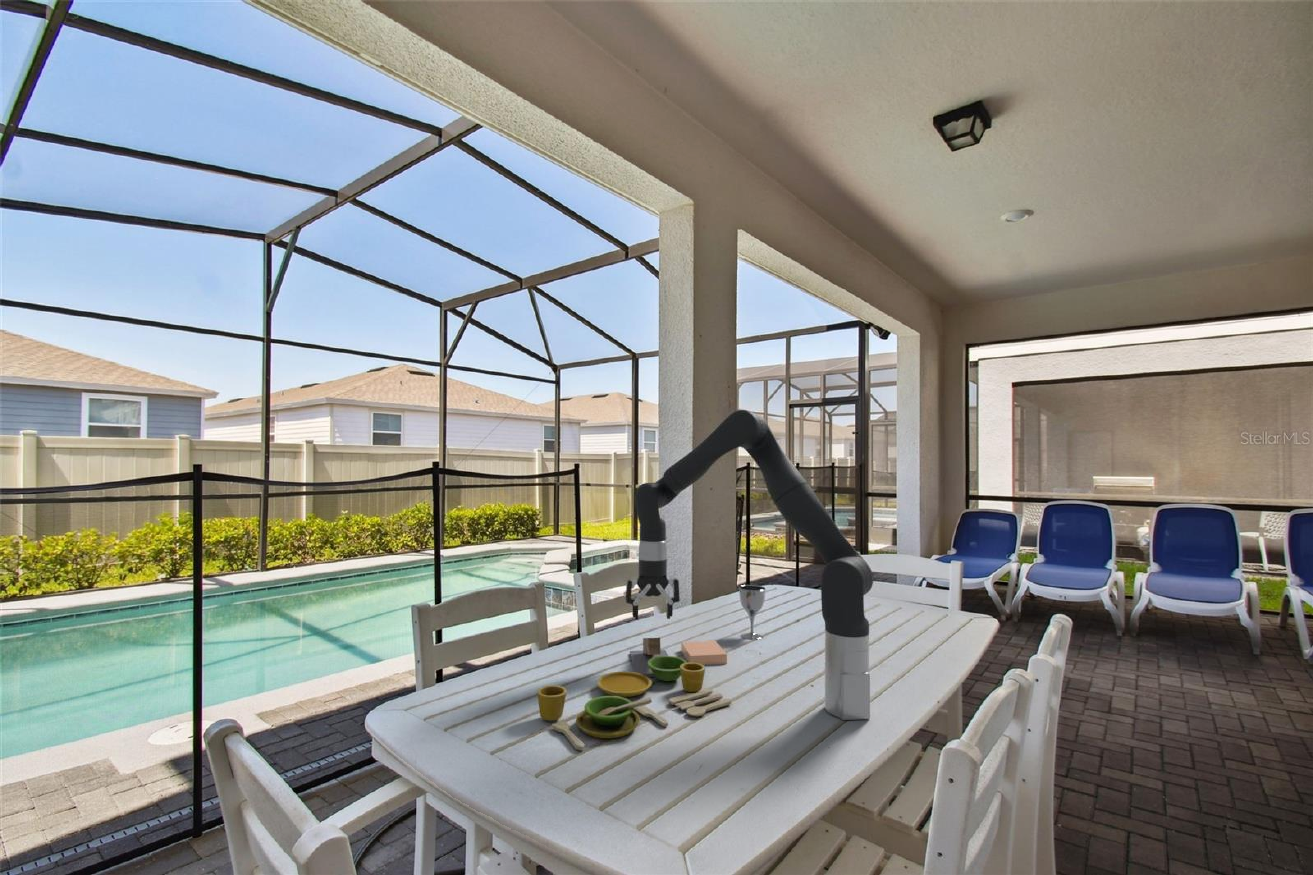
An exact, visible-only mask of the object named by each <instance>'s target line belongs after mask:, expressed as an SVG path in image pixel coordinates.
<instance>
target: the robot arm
mask: <svg viewBox="0 0 1313 875" xmlns="http://www.w3.org/2000/svg"><path fill="white" fill-rule="evenodd" d="M737 448H742V449H744V450H745V452H747V453H748V455H749V456H750V457H751V458H752V460H753V461H754V462H755V464H756V465H757V467H758V468H759V470H760V472H761V474H762V476H763V479H764V482H765V486H766V488H767V492H768V494H769V497H770V498H771V500H772V502H773V504H774V505H775V507H776V509H777V510H778V512H779V513H780V514H781V516H782V518H783V519H784V520H785V521H786V523H787V524H788V525H790V527H791V528H792V529H793V530H794V531H796V532H797V534H799V535H800V536H801V537H802V538H803V539H805V540H806V541H807V542H808V543H809V544H810V545H811V546H812V547H813V548H814V549H815V550H816V551H817V553H818V554H819V555H820V557H821V558H822V560H823V562H824V563H825V567H824V568H823V570H822V573H821V578H820V579H821V580H820V589H821V590H820V595H821V596H820V599H821V614H822V619H823V622H824V710H825V711H826V712H827V713H829V714H830V715H832V716H834V717H837V718H840V719H841V720H842V721H849V720H850V721H852V720H853V721H854V720H870V719H871V675H870V623H869V620H868V619H867V617H866V616H865V602H864V600H865V598H864V596H865V595H867V594H868V593H869V592H870V590H871V589H872V588H873V584H874V576H873V572H872V569H871V567H870V565H869V564H868V562H867V561H866V560H865V559H864V557H863V556H861V554H860V553H859V551H857V550H856V549H855V547H854V546H853V545H852V544H851V543H850V542H849V541H848V539H847V538H846V537H845V536H844V534H843V533H842V532H841V530H840V529H839V528H838V526H837V524H836V523H835V522H834V520H833V518H832V517H831V515H830V514H829V512H828V511H827V509H826V508H825V506H824V505H823V503H822V502H821V500H820V498H818V495H816V493H815V491H814V490H813V488H812V487H811V485H810V484H809V483H808V482H807V480H806V478H805V477H804V476H803V475H802V474H801V472H800V471H799V469H798V468H797V467H796V466H795V464H794V463H793V462H792V460H790V458H789V457H788V456H787V454H786V453H785V452H784V450H783V448H781V446H780V444H779V442H778V441H777V439H776V436H775V435H774V434H773V431H772V430H771V427H770V426H769V424H768V422H767V421H766V420H765V418H764V417H763V416H761V415H760V414H758V413H756V412H753V411H751V410H747V409H737V410H735V411H733V412H732V413H730V415H728V416H727V417H726V418H725V419H723V421H722V422H721V423H720V424H719V425H718V426H717V427H716V428H715V429H714V430H713V432H711V433H710V434H709V435H708V436H707V437H706V438H705V439H704V440H703V441H702V442H700V443H699V444H698V445H697V446H696V447H694V449H692V450H691V451H690V452H688V453H687V454H686V455H685V456H683V457H682V458H681V459H679V460H678V461H675V463H674V464H672V465H671V466H670V467H669V466H668V468H667V469H666V470H664V472H663V476H662V477H661V478H660V479H659V480H657V481H655V482H645V483H642V484H640V485H639V486H638V488H637V489H636V492H635V497H634V504H635V510H636V514H637V519H638V522H639V544H638V545H639V546H638V554H637V556H638V578H637V579H636V580H635V579H630V578H628V579H626V587H625V588H626V590H625V602H626V604H630V605H632V606H631V608H632V609H631V610H632V617H633V618H634V620H635V621H636V620H637V621H639V605H638V604H639V603H640V601H642V599H644V597H645V596H646V597H659V596H661V595H662V597H663V599H664V600H665V601H666V608H665V609H666V612H665V613H666V619H667V620H670V619H671V618H672V617H673V614H674V613H673V608H674V607H673V605H674V604H675V603H679V602H680V598H681V597H680V584H679V579H678V578H677V577H673V578H669V579H668V576H667V573H668V572H667V571H668V570H667V569H668V566H667V565H668V559H667V558H668V557H667V556H668V552H667V550H668V549H667V538H666V537H667V534H666V531H667V528H666V527H667V526H666V521H665V520H664V518H661V516H660V511H659V510H660V509H661V508H664V507H665V506H667V505H668V504H669V505H670V503H671V502H672V501H673V500H674V499H676V497H678V496H679V495H680V493H681V492H683V491H684V490H685V489H687V488H689V487H691V486H692V485H693V484H694V483H696V482H697V481H698V480H700V479H701V478H703V476H704V475H705V474H707V472H708V471H709V470H710V468H711V467H712V466H713V464H715V463H716V461H718V460H719V459H720V458H722V456H724V455H726V454H728V453H729V452H732V451H733V450H735V449H737ZM669 584H670V586H671V588H672V589H673V590H672V592H673V596H672V597H670V595H669V594H668V593H667V591H666V588H667V586H668V585H669ZM635 586H638V588H639V590H638V592H636V595H635V597H634V598H632V589H635Z"/></svg>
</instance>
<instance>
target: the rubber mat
mask: <svg viewBox="0 0 1313 875" xmlns="http://www.w3.org/2000/svg"><path fill="white" fill-rule="evenodd" d="M660 653H661V654H656V655H648V654H643V649H642V650H629V655H630V658H631V663H632V666H633V670H634V672H636V673H640V674H643V675H645V676H647V677H649V678H656V677H655V676H654V674H653V672H652V670H651V669H650V668H649V667H648V665H647V662H648V661H649V660H650V659H652V658H654V657H659V656H669V655H668V653H667V650H666V649H660Z"/></svg>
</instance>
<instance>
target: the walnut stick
mask: <svg viewBox="0 0 1313 875" xmlns="http://www.w3.org/2000/svg"><path fill="white" fill-rule="evenodd" d="M642 650H643V654H648V655H656V654H661V653H660V650H661V637H643V638H642Z"/></svg>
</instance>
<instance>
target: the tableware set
mask: <svg viewBox="0 0 1313 875" xmlns="http://www.w3.org/2000/svg"><path fill="white" fill-rule="evenodd" d="M647 665H648V667H649V668H650V669H651V670H652V672H653V674H654V676H655V677H654V678H655V679H658V680H659V681H664V682H673V681H676V680H678V679H680V677H681V686H682V689H683V690H685V691H686V692H690V693H685V694H684V693H683V694H681V695H678V696H674V697H670V698H669V700H668V702H669V704H670V705H671V706H674V705H675V706H676V707H677V708H679V709H680V710H683V711H686V714H687V715H689V716H691V717H700V716H701V717H702V716H704V715H705V714H706V713H707V712H708V711H713V710H715V709H719V708H722V707H725V706H728V705H732V699H731V698H729V697H725V698H723V697H724V696H723V693H720V692H719V693H714V692H713V689H711V688H707V689H703V684H704V678H705V673H706V665H702V664H699V663H693V662H689V663H688V661H687V660H686V659H683V658H682V657H677V656H672V655H668V656H659V657H654V658H652V659H650V660H649V661H648V662H647ZM652 681H653V680H651V677H647V676H645V675H643V674H640V673H636V672H635V671H634V672H633V671H614V672H609V673H605V674H604V675H601V676H600V677H599V678H598V679H597V681H596V683H597V687H598V688H599V689H600V690H601V691H602V692H604V693H606V694H607V695H604V696H603V695H602V696H598V697H595V698H591V699H590V700H588V701H587V702H586V703H585V705H584V710H583V711H582V710H581V712H579V714H578V715H577V716H576V717H575V718H576V719H575V723H576V725H577V727H578V728H579V729H581V731H582V732H583V733H585V734H586V735H588V736H591V737H592V738H593V737H594V738H598V739H599V738H600V739H614V738H621V737H624V736H626V735H628V734H630V733H632V732H633V731H634V730H635V729H637V727H638V726H639V724H640V721H641V719H640V715H639V714H641V715H642V716H644V717H646V718H652V720H654V721H655V722H656V723H658V725H660V726H662V727H668V726H669V721H668V720H667V719H665V718H664V717H662V716H661V715H659V714H658V713H656V712H655V711H654V710H652V709H651V708H649V707H648V706H646V705H650V704H651V703H653V700H652V697H645V698H642V699H639V700H636V701H631V700H630V699H628V698H627V697H634V696H639V695H641V694H644V693H645V692H647V691H648V690H649V689H650V687H651V686H652V684H653V682H652ZM702 689H703V690H702ZM567 692H568V691H567V688H565V687H564V686H561V685H552V684H551V685H545V686H541V688H538V690H537V692H536V695H537V700H538V701H537V702H538V707H539V708H538V710H539V715H540V718H541V719H542V720H543V721H557V720H559V719H560V718H562V716H563V714H564V708H565V703H566V697H567ZM713 693H714V694H713ZM710 702H711V703H710ZM706 703H708V704H707V705H703V706H698V705H701V704H706ZM638 713H639V714H638ZM551 726H552V728H553V729H554V730H555V731H556V732H559V733H562V734H563V735H565V737H566V738H567V739H568V741H569V742H570V743H571V745H572V746H573V748H575V750H578V751H584V750H585V743H584V742H583V741H582V740H581V739H580V738H578V737H577V735H575V734H574V733H573V732H572V731H571V730H570V728H571V727H570V724H569V723H568V722H566V721H564V720H561V721H560V722H559V721H558V722H556V723H555V722H554V723H552V724H551Z"/></svg>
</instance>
